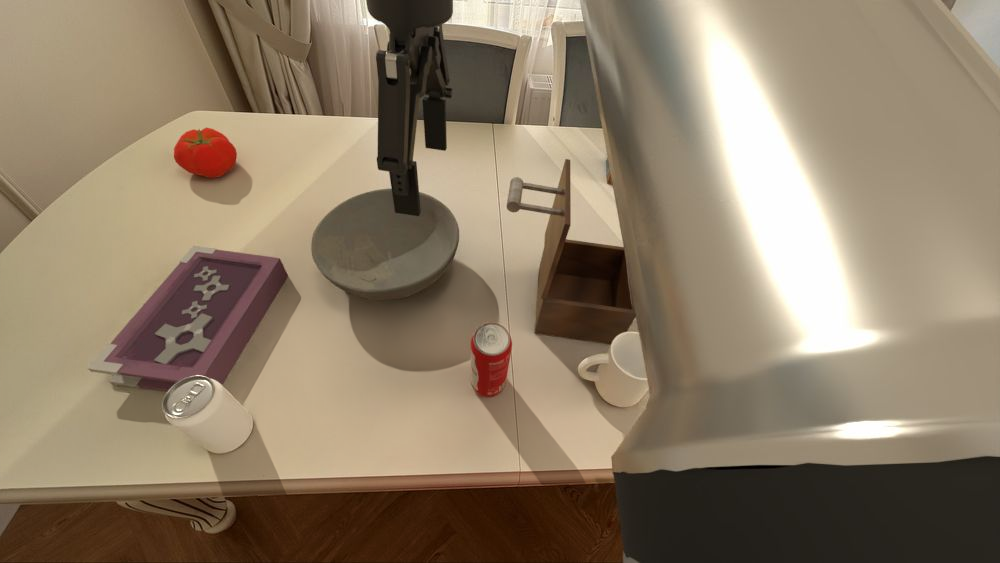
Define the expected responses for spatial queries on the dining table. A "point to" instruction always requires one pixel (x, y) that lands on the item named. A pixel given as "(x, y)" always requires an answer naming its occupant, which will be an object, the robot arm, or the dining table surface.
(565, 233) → the bin lid
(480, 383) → the beverage can
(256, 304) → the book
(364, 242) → the bowl
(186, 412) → the can
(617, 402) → the mug
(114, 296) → the dining table surface
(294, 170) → the dining table surface
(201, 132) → the tomato
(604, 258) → the bin
